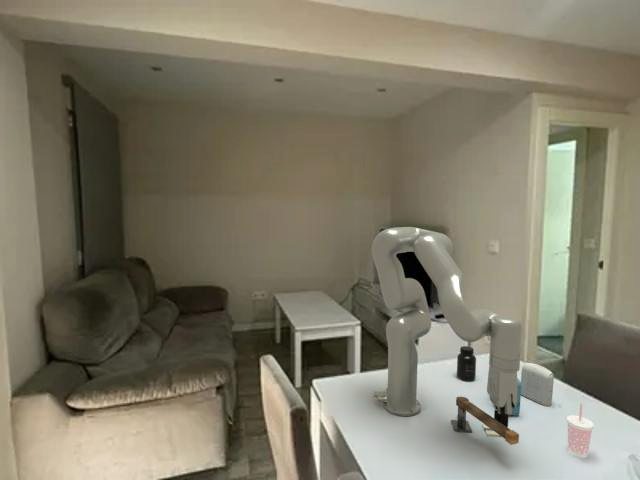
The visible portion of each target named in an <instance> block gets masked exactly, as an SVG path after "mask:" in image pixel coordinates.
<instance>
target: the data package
mask: <svg viewBox="0 0 640 480" xmlns="http://www.w3.org/2000/svg"><path fill="white" fill-rule="evenodd" d="M521 396H522V395H521V379H519V378H518V377H517V405H516V408H512V415H511V416H519V415H520V412H521V411H520V409H521V398H522V397H521ZM489 398H490V401H491V402H492V403H493V404H494V402H493V400H492V399H491V397H490V396H489ZM511 407H512V406H511Z"/></svg>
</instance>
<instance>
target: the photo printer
mask: <svg viewBox="0 0 640 480" xmlns="http://www.w3.org/2000/svg"><path fill="white" fill-rule="evenodd" d="M554 379H555V375H554V373H553V372H552V371H551V370H550V369H548V368H546V367H544V366H542V365H539V364H538V363H537V364H536V363H533V362H525V363H523V364H522V367H521V377H520V382H521V396H523V397H525V398H527V399H528V400H532V401H534V402H536V403H538V404H540V405H543V406H544V407H551V405H552V402H553V395H554V394H553V391H554Z"/></svg>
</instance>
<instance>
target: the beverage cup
mask: <svg viewBox="0 0 640 480" xmlns="http://www.w3.org/2000/svg"><path fill="white" fill-rule="evenodd" d="M579 404H580V405H579V415H575V414H572V415H571V414H570V415H567V417H566V423H567V451H568V452H569V454H571V455H572V456H574V457H577V458H582V459H585V458H587V457H588V456H589V451H590V446H591V445H590V444H591V438H592V433H593V432H592V431H593V430H594V426H595V425H594V423H593V421H591V420H590V419H588V418H585V417H583V414H582V413H583V403H579Z"/></svg>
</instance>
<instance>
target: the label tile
mask: <svg viewBox="0 0 640 480" xmlns="http://www.w3.org/2000/svg"><path fill="white" fill-rule="evenodd" d="M481 427H482V428H483V430H484V433H485V434H486V436H487V437H495V438H496V437H497V438H502V437H501V436H500V435H499V434H497V433H496V432H495V431H493V430H492V429H490V428H489V427H488V426H486V425H485V424H484V423H482V424H481Z"/></svg>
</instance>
